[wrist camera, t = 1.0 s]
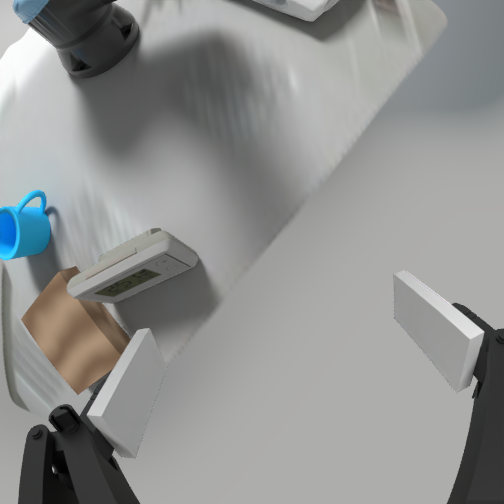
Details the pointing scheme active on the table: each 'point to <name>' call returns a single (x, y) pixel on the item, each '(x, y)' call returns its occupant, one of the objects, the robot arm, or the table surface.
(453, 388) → the robot arm
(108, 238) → the table surface
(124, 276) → the digital clock
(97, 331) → the riser block
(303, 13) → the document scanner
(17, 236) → the mug
